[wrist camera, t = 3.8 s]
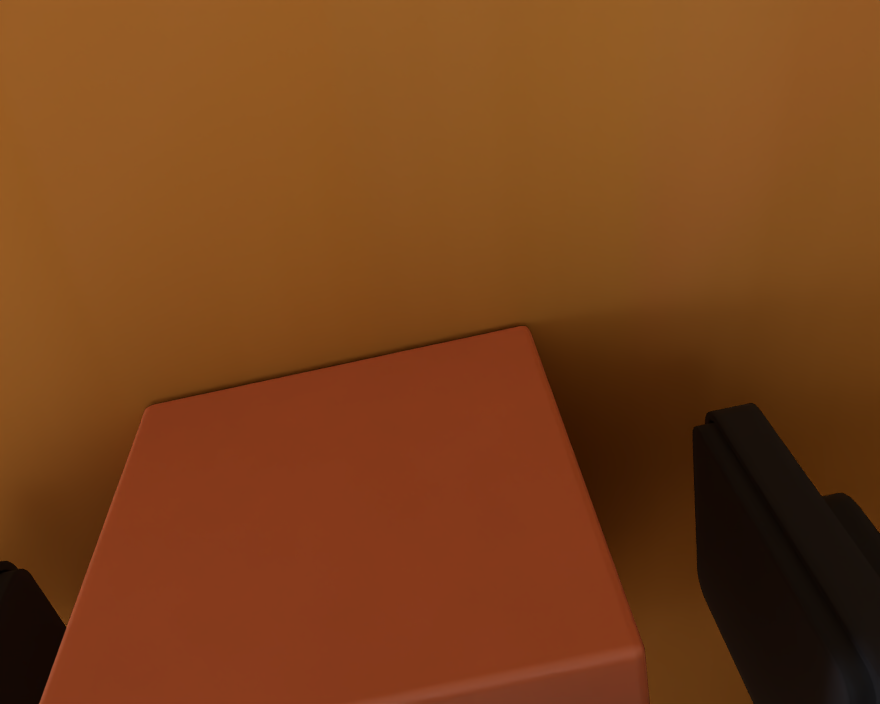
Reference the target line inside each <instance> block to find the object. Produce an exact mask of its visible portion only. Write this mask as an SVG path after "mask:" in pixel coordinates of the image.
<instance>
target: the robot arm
mask: <svg viewBox="0 0 880 704" xmlns="http://www.w3.org/2000/svg"><path fill="white" fill-rule="evenodd" d="M693 463H694V491H695V519H696V546H697V571H698V578H699V582H700V586H701V589H702V592H703V595H704V598H705V600H706V602H707V604H708V607H709V609H710V611H711V613H712V615H713V617H714V619H715V622H716V624H717V626H718V628H719V630H720V632H721V635H722V637H723V639H724V641H725V643H726V645H727V647H728V650H729V652H730V654H731V656H732V658H733V660H734V663H735V665H736V667H737V669H738V671H739V673H740V675H741V678H742V680H743V682H744V684H745V686H746V688H747V690H748V693H749V695H750V697H751V699H752V701H753V703H754V704H880V533H879V532H878V531H877V529H876V528H875V527H874V525H873V524H872V523H871V521H870V520H869V519H868V517H867V516H866V515H865V514H864V512H863V511H862V510H861V508H860V507H859V506H858V505H857V504H856V503H855V502H854V500H853V499H852V498H851V497H849V496H847V495H846V494H844V493H837V494H832V495H827V496H821V495H820V493H819V492H818V491H817V489H816V488H815V486H814V485H813V484H812V482H811V481H810V479H809V478H808V477H807V475H806V474H805V472H804V471H803V470H802V468H801V467H800V465H799V464H798V463H797V461H796V460H795V458H794V457H793V456H792V454H791V453H790V451H789V450H788V449H787V447H786V446H785V444H784V443H783V441H782V440H781V439H780V437H779V436H778V434H777V433H776V432H775V430H774V429H773V427H772V426H771V425H770V423H769V422H768V420H767V419H766V418H765V416H764V415H763V413H762V412H761V411H760V409H759V408H758V407H757V406H756V405H755V404H753V403H749V404H744V405H739V406H734V407H730V408H725V409H720V410H715V411H711V412H708V413H707V415H706V417H705V425H700V426H696V427H694V428H693ZM65 631H66V626H65V625H64V623H63V622H62V620H61V619H60V617H59V616H58V614H57V613H56V611H55V610H54V608H53V607H52V605H51V604H50V602H49V601H48V599H47V598H46V596H45V595H44V593H43V592H42V590H41V589H40V587H39V586H38V584H37V583H36V581H35V580H34V578H33V577H32V575H31V574H30V573H29V572H28V571H27V570H25V569H17V568H16V566H15V565H14V564H13V563H10V562H8V561H0V704H39V703H40V700H41V697H42V694H43V692H44V689H45V686H46V683H47V681H48V678H49V675H50V672H51V669H52V667H53V664H54V661H55V658H56V656H57V653H58V650H59V647H60V644H61V642H62V639H63V636H64V633H65Z"/></svg>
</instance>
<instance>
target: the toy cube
mask: <svg viewBox="0 0 880 704" xmlns="http://www.w3.org/2000/svg"><path fill="white" fill-rule="evenodd" d="M39 704H650V700H649V689H648V679H647V668H646V657H645V648H644V645H643V642H642V640H641V637H640V634H639V631H638V629H637V626H636V623H635V620H634V617H633V615H632V612H631V609H630V606H629V604H628V601H627V598H626V595H625V592H624V590H623V587H622V584H621V581H620V579H619V576H618V573H617V570H616V568H615V565H614V562H613V559H612V556H611V554H610V551H609V548H608V545H607V543H606V540H605V537H604V534H603V531H602V529H601V526H600V523H599V520H598V518H597V515H596V512H595V509H594V507H593V504H592V501H591V498H590V495H589V493H588V490H587V487H586V484H585V482H584V479H583V476H582V473H581V470H580V468H579V465H578V462H577V459H576V457H575V454H574V451H573V448H572V446H571V443H570V440H569V437H568V434H567V432H566V429H565V426H564V423H563V421H562V418H561V415H560V412H559V409H558V407H557V404H556V401H555V398H554V396H553V393H552V390H551V387H550V385H549V382H548V379H547V376H546V373H545V371H544V368H543V365H542V362H541V360H540V357H539V354H538V351H537V348H536V346H535V343H534V340H533V337H532V335H531V332H530V330H529V329H528V328H527V327H526V326H518V327H513V328H509V329H504V330H499V331H495V332H490V333H485V334H481V335H476V336H471V337H467V338H462V339H457V340H453V341H448V342H443V343H439V344H434V345H429V346H425V347H420V348H415V349H411V350H406V351H401V352H397V353H392V354H387V355H383V356H378V357H373V358H369V359H364V360H359V361H355V362H350V363H345V364H341V365H336V366H331V367H327V368H322V369H317V370H313V371H308V372H303V373H299V374H294V375H289V376H285V377H280V378H275V379H271V380H266V381H261V382H257V383H252V384H247V385H243V386H238V387H233V388H229V389H224V390H219V391H215V392H210V393H205V394H201V395H196V396H191V397H187V398H182V399H177V400H173V401H168V402H163V403H159V404H154V405H151V406H149V407H147V408H146V409H145V411H144V414H143V417H142V420H141V422H140V425H139V428H138V431H137V433H136V436H135V439H134V442H133V445H132V447H131V450H130V453H129V456H128V458H127V461H126V464H125V467H124V470H123V472H122V475H121V478H120V481H119V483H118V486H117V489H116V492H115V495H114V497H113V500H112V503H111V506H110V508H109V511H108V514H107V517H106V520H105V522H104V525H103V528H102V531H101V533H100V536H99V539H98V542H97V545H96V547H95V550H94V553H93V556H92V558H91V561H90V564H89V567H88V570H87V572H86V575H85V578H84V581H83V583H82V586H81V589H80V592H79V595H78V597H77V600H76V603H75V606H74V608H73V611H72V614H71V617H70V620H69V622H68V625H67V628H66V631H65V633H64V636H63V639H62V642H61V644H60V647H59V650H58V653H57V656H56V658H55V661H54V664H53V667H52V669H51V672H50V675H49V678H48V681H47V683H46V686H45V689H44V692H43V694H42V697H41V700H40V703H39Z"/></svg>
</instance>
